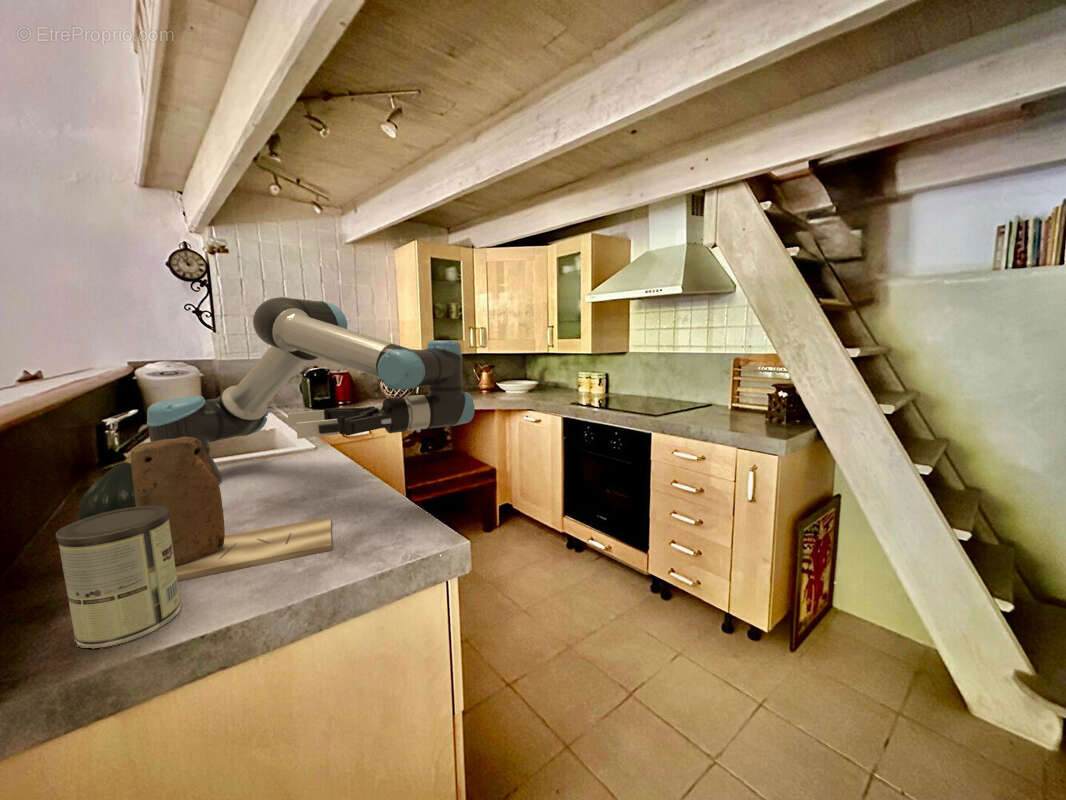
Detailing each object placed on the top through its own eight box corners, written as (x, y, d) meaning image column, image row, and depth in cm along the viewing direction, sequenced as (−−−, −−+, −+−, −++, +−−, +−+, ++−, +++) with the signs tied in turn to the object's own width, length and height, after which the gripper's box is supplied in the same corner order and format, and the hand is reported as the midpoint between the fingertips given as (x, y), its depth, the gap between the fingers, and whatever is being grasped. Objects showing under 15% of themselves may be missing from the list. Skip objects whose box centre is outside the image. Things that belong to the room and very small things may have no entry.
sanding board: (156, 552, 76) (155, 546, 75) (330, 521, 88) (330, 516, 87) (122, 592, 63) (122, 585, 63) (331, 550, 75) (331, 544, 75)
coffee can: (75, 623, 56) (59, 520, 54) (177, 591, 63) (165, 499, 61) (70, 663, 49) (50, 546, 47) (185, 622, 56) (172, 518, 54)
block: (144, 576, 65) (125, 449, 63) (143, 559, 71) (126, 441, 68) (229, 552, 73) (216, 437, 70) (223, 538, 78) (210, 431, 76)
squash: (150, 523, 75) (169, 448, 83) (42, 538, 71) (73, 458, 79) (189, 547, 86) (202, 479, 94) (97, 561, 82) (119, 489, 90)
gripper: (427, 441, 82) (303, 458, 70) (388, 422, 102) (286, 433, 90) (425, 402, 81) (299, 413, 69) (386, 391, 101) (283, 398, 89)
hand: (292, 425), depth 80 cm, fingers open, 13 cm apart
